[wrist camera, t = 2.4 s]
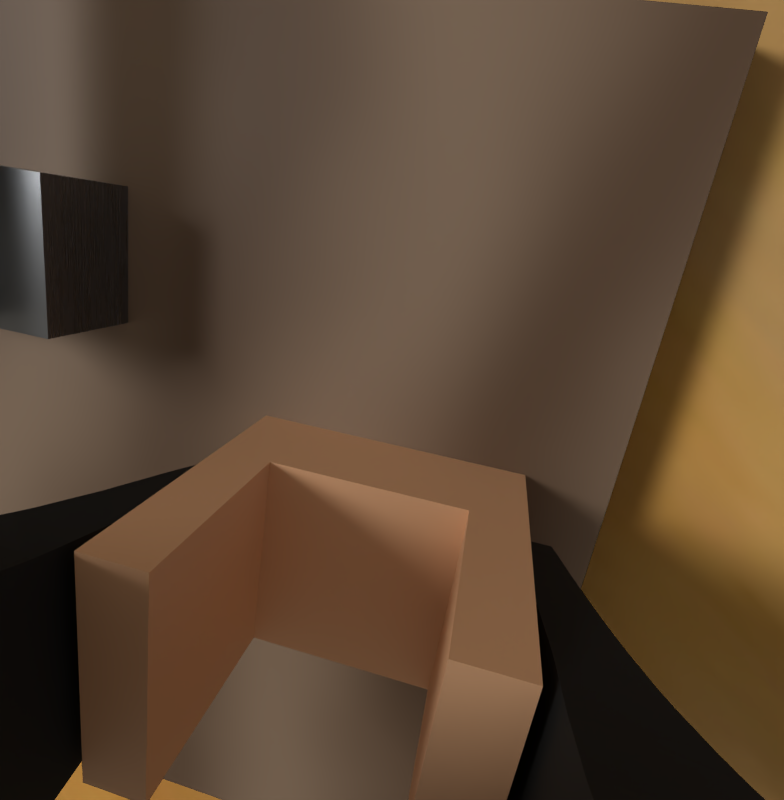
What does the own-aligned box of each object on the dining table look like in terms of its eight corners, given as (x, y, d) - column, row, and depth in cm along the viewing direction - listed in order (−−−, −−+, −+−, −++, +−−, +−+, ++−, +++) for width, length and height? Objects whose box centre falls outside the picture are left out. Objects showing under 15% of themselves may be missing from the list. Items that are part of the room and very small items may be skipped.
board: (736, 40, 8) (768, 11, 7) (484, 846, 13) (482, 891, 12) (-134, -49, 10) (-198, -78, 9) (-41, 667, 16) (-76, 694, 15)
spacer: (525, 475, 9) (543, 686, 5) (484, 631, 10) (467, 921, 6) (266, 415, 10) (73, 550, 6) (252, 566, 11) (83, 781, 7)
